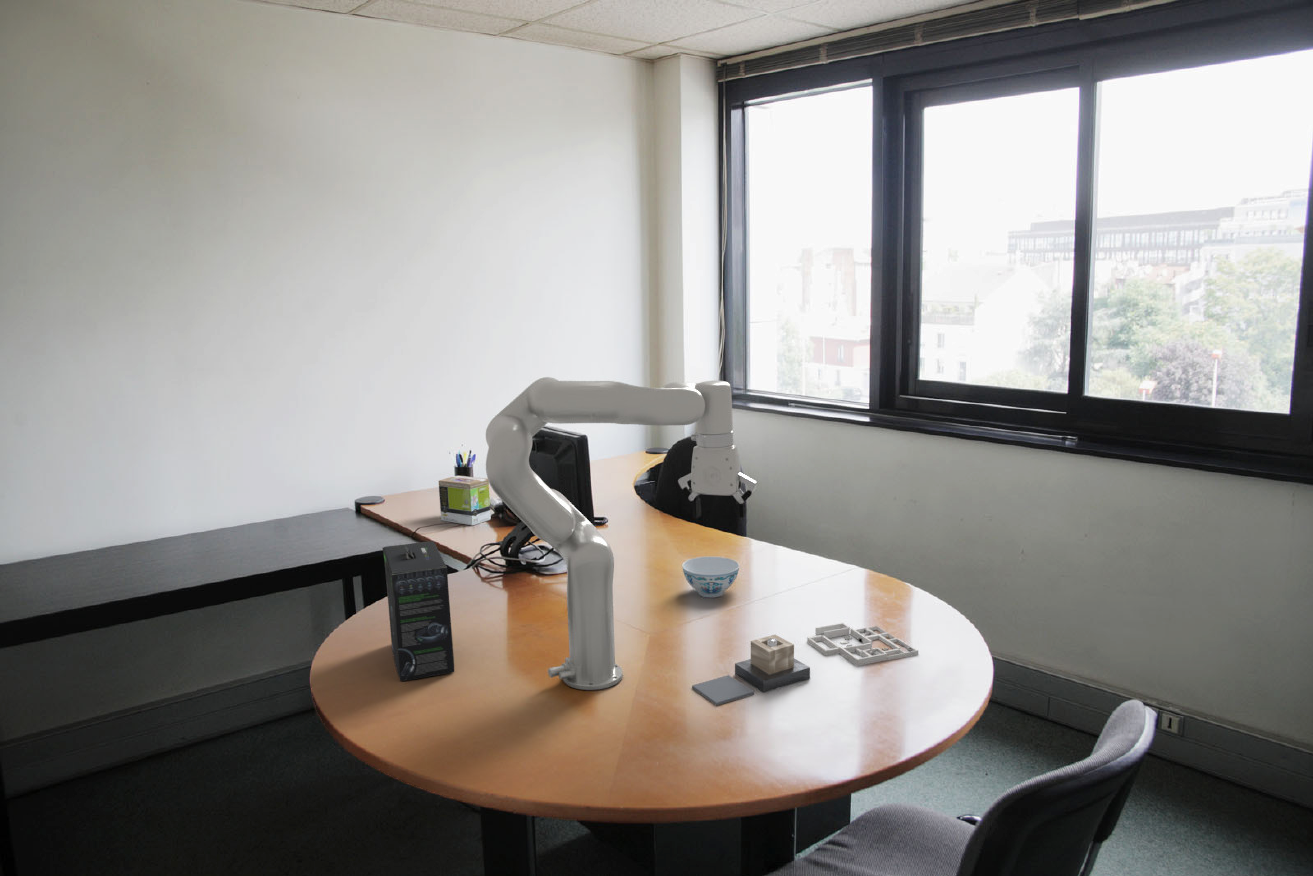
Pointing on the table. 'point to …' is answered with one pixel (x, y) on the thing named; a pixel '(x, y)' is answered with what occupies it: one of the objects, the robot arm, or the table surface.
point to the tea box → (464, 500)
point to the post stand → (774, 680)
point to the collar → (772, 655)
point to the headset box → (419, 610)
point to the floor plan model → (861, 649)
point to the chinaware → (710, 574)
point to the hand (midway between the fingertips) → (718, 518)
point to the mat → (722, 690)
